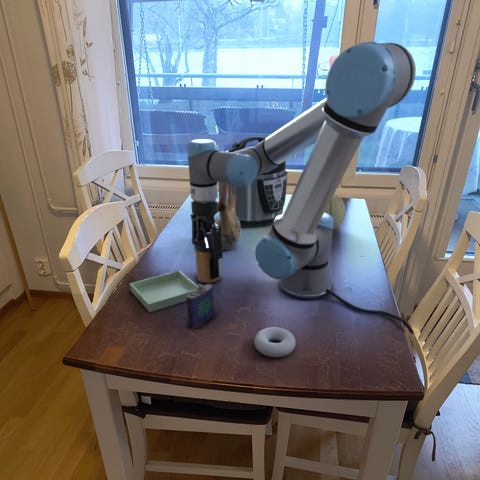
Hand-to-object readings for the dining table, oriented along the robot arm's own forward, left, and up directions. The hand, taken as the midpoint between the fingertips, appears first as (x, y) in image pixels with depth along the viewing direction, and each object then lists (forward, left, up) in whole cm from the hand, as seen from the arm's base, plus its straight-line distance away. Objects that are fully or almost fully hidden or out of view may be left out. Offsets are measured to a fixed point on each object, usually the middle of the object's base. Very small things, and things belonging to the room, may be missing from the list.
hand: (208, 272), depth 131 cm
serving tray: (-1, +15, -2) cm, 15 cm away
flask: (-20, +13, -2) cm, 24 cm away
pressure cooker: (+38, -43, -2) cm, 58 cm away
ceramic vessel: (+17, -18, -2) cm, 25 cm away
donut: (-40, +4, -2) cm, 40 cm away
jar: (0, 0, -2) cm, 2 cm away
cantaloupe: (+11, -59, -2) cm, 60 cm away
